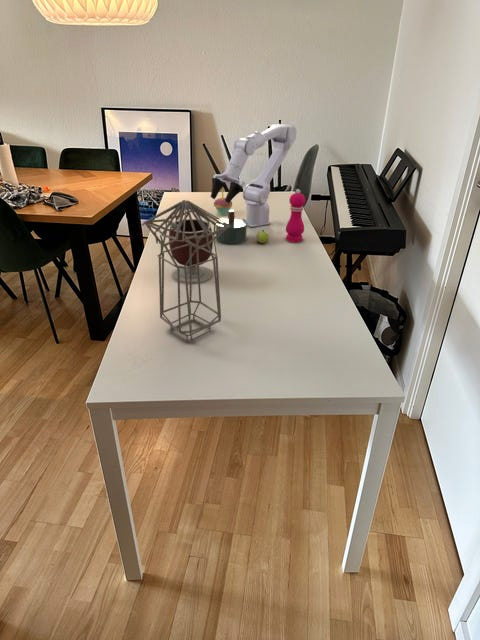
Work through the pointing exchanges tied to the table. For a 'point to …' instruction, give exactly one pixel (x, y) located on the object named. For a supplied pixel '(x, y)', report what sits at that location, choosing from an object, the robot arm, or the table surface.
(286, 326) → the table surface
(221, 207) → the cupcake
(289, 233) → the pepper mill
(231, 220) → the pot lid
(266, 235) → the guava
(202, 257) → the mate gourd
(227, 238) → the pot
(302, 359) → the table surface
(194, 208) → the geometric lantern
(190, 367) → the table surface
